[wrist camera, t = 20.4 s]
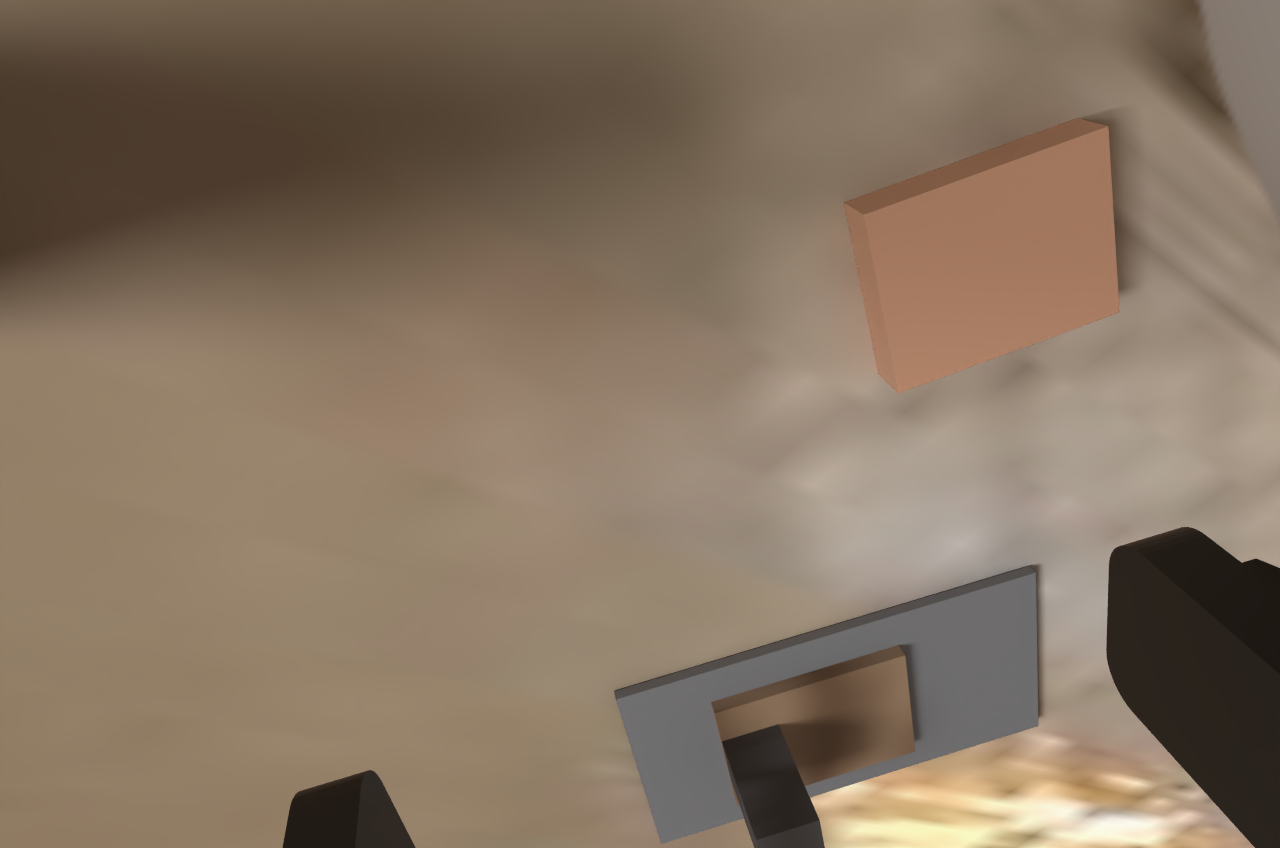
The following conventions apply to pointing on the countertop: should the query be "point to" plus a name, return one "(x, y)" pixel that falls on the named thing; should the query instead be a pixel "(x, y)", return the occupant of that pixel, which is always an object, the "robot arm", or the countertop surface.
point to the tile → (987, 253)
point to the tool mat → (924, 630)
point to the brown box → (811, 740)
